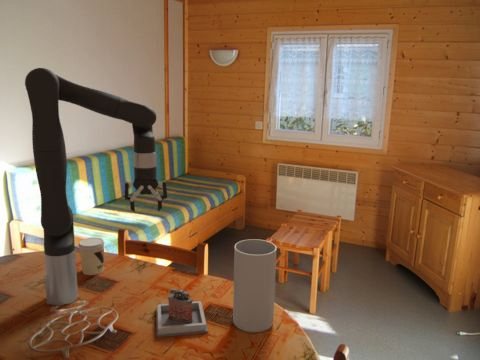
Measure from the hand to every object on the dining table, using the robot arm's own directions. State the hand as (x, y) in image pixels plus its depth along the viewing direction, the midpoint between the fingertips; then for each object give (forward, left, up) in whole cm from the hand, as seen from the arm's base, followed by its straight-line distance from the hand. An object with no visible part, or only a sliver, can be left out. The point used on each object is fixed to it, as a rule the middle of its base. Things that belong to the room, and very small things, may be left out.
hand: (146, 210), depth 152 cm
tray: (+10, -26, -28) cm, 40 cm away
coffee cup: (-21, +15, -28) cm, 38 cm away
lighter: (+10, -26, -28) cm, 39 cm away
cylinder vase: (+32, -30, -28) cm, 52 cm away
